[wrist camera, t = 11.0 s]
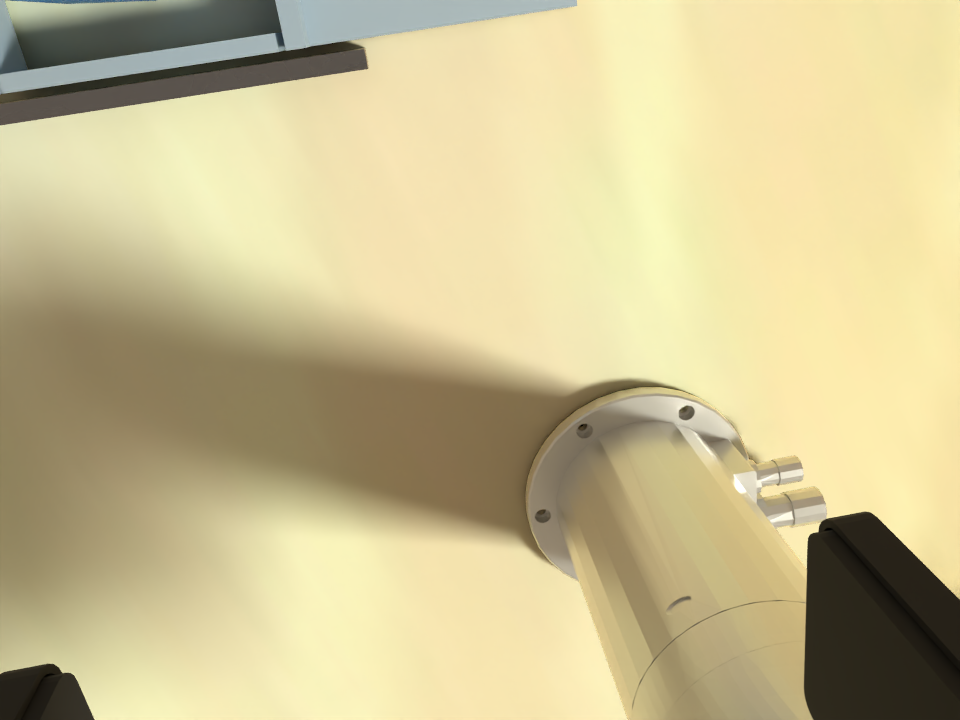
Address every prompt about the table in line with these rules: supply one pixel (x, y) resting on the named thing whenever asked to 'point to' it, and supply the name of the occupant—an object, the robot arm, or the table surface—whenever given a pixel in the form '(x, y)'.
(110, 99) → the lane rails
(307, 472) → the table surface
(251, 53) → the pale blue tray
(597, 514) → the robot arm
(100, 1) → the water bottle
